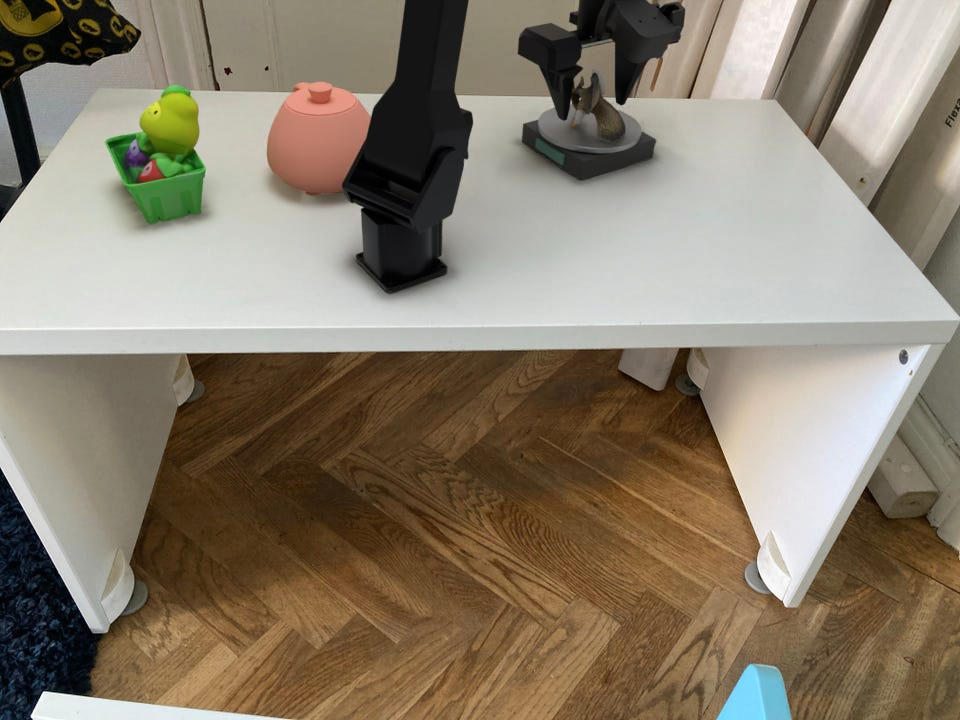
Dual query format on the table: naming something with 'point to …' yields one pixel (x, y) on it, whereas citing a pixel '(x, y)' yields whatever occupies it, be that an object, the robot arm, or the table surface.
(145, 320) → the table surface
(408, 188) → the robot arm
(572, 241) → the table surface
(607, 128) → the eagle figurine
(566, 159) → the scale
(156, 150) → the fruit basket
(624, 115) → the scale pan
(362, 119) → the sugar bowl
